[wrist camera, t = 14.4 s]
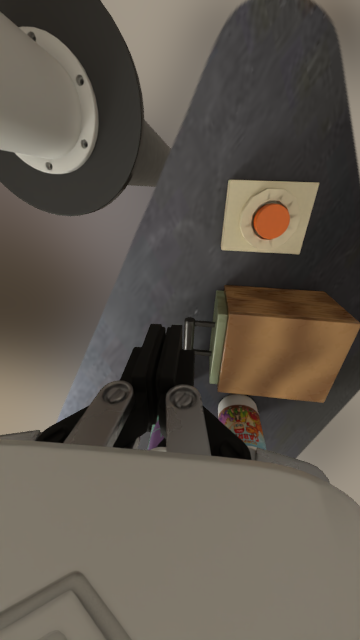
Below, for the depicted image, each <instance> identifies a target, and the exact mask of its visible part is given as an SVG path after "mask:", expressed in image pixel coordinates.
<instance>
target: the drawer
mask: <svg viewBox="0 0 360 640" xmlns="http://www.w3.org/2000/svg"><path fill="white" fill-rule="evenodd" d="M227 320H228V311H227V305H226V299H225V292H224V291H218V290H217V291H216V298H215V306H214V315H213V322H209V321H196V320H195V319H194V318H191V317H188V318H186V319H185V329H184V349H186V350H195V355H203V356H209V379H210V383H212V384H218V379H219V372H220V366H221V359H222V353H223V346H224V339H225V333H226V326H227ZM195 326H202V327H212V332H211V341H210V349H209V351H207V350H196V349H193V341H194V327H195Z"/></svg>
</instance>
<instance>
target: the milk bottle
mask: <svg viewBox="0 0 360 640" xmlns="http://www.w3.org/2000/svg"><path fill="white" fill-rule="evenodd" d="M218 420H219V421H221V422H222V423H223V424H224V425H225V426H226V427H227V428H228V429H230V430H231V431H232V432H233V433H234V434H235V435H236V436H238V437H239V438H240V439H241V440H242V441H243V442H244V443H245V444H246V445H247V447H248V448H252V449H255V450H256V449H257V447H258V448H261V449H264V450H266V446H265V441H264V437H263V432H262V428H261V423H260V419H259V414H258V410H257V406H256V404H255V402H254V401H253V400H252V399H251V398H249V397H248V396H245V395H240V394H234V395H229V396H227V397H225V398H223V399H222V400H221V402H220V403H219V406H218Z"/></svg>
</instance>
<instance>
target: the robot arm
mask: <svg viewBox="0 0 360 640" xmlns="http://www.w3.org/2000/svg"><path fill="white" fill-rule="evenodd" d="M35 41H36V42H35ZM82 81H84V84H83V85H82ZM98 126H99V120H98V108H97V102H96V97H95V94H94V91H93V88H92V85H91V82H90V80H89V78H88V76H87V74H86V72H85V70H84V68H83V67H82V65H81V64H80V62H79V61H78V59H77V58H76V56H75V55H74V54H73V53H72V52H71V51H70V50H69V49H68V48H67V47H66V46H65V45H64V44H63V43H62V42H61V41H60V40H59V39H58V38H56V37H55V36H53V35H51V34H50V33H48V32H46V31H44V30H41V29H38V28H35V27H18V26H16V25H15V24H14V23H13V22H12V21H11V20H9V19H8V18H7V17H6V16H5V15H4V14H2V13H1V12H0V150H4V151H10V152H15V154H16V155H17V156H18V157H20V158H21V159H22V160H23V161H24V162H25V163H27V164H28V165H30V166H32V167H33V168H35V169H37V170H40V171H42V172H46V173H51V174H66V173H70V172H73V171H75V170H77V169H78V168H80V167H81V166H82V165H83V164H84V163H85V162H86V161H87V160H88V158H89V157H90V155H91V153H92V151H93V149H94V147H95V143H96V140H97V135H98ZM86 143H88V147H86ZM194 363H195V350H186V349H182V325H172V326H171V327H168V328H167V332H166V333H165V327H162V325H161V324H151V325H150V327H149V330H148V333H147V335H146V338H145V341H144V343H143V346H142V347H134V349H133V351H132V353H131V356H130V358H129V360H128V363H127V365H126V367H125V370H124V372H123V374H122V377H121V379H120V381H113V382H111V383H108V384H107V385H105V386H104V387H103V388H102V389H101V390H100V391H99V393H98V394H97V396H96V397H95V399H94V400H93V401H92V403H91V404H90V405H89V406H87V407H86V408H84V409H82V410H80V411H78V412H76V413H74V414H73V415H71V416H69V417H67V418H65V419H63V420H61V421H60V422H58V423H56V424H54V425H52V426H51V427H49V428H47V429H46V430H45V431H44V432H40V430H35V431H27V432H20V433H13V434H6V435H0V640H360V506H359V505H358V504H357V503H356V502H355V501H354V500H353V499H352V498H351V497H349V496H348V495H346V494H345V493H344V492H343V491H341V490H339V489H338V488H336V487H334V486H333V485H331V484H330V483H329V479H328V478H327V477H326V475H325V474H324V473H323V472H322V471H321V470H320V469H319V468H318V467H316V466H314V465H312V464H310V463H307V462H304V461H301V460H298V459H294V458H291V457H288V456H284V455H281V454H278V453H274V452H271V451H268V450H264V449H261V448H258V447H257V449H256V450H255V449H252V448H248V447H247V445H246V444H245V443H244V442H243V441H242V440H241V439H240V438H239V437H238V436H236V435H235V434H234V433H233V432H232V431H231V430H230V429H228V428H227V427H226V426H225V425H224V424H223V423H222V422H221V421H219V420H218V419H217V418H216V417H215V416H214V415H213V414H212V413H210V412H209V411H208V410H207V409H206V408H205V407H204V406H202V401H201V396H200V393H199V392H198V390H197V389H196V388H194V387H193V385H194ZM157 417H158V420H159V425H160V433H161V434H162V435H163V437H164V438H165V439H166V452H162V451H150V450H139V449H137V447H138V445H139V442H140V436H141V435H143V434H144V433H145V432H151V427H152V425H156V422H157Z"/></svg>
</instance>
